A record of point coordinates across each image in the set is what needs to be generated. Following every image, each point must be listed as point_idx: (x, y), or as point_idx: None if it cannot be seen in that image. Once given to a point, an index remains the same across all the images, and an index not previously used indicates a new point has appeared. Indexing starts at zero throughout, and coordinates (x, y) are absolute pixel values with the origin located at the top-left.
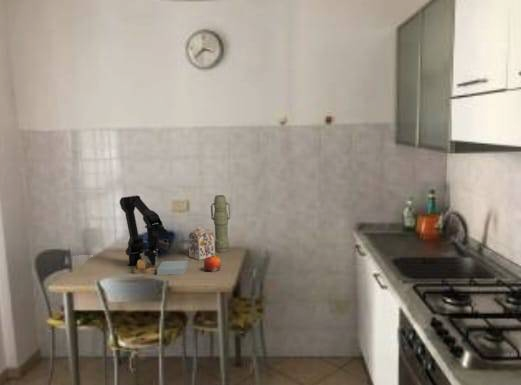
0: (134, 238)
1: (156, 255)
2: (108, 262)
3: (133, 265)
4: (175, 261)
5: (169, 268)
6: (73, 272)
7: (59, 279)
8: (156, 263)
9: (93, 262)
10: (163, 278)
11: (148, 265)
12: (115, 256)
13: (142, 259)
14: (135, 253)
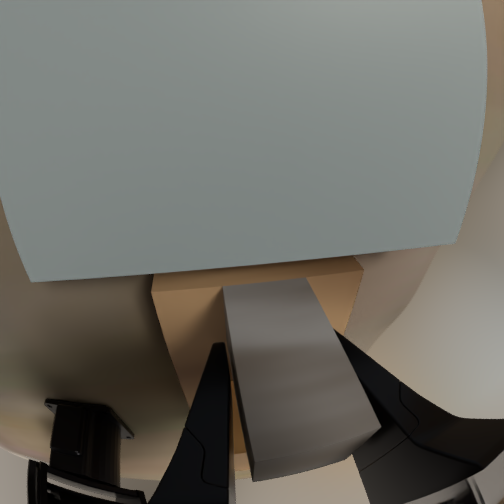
0: None
1: (228, 470)
2: None
3: (124, 425)
4: (14, 38)
5: (469, 83)
6: (242, 478)
7: None
8: (329, 326)
9: (126, 475)
10: (494, 144)
11: (182, 379)
12: (37, 448)
13: (235, 464)
14: (102, 490)
